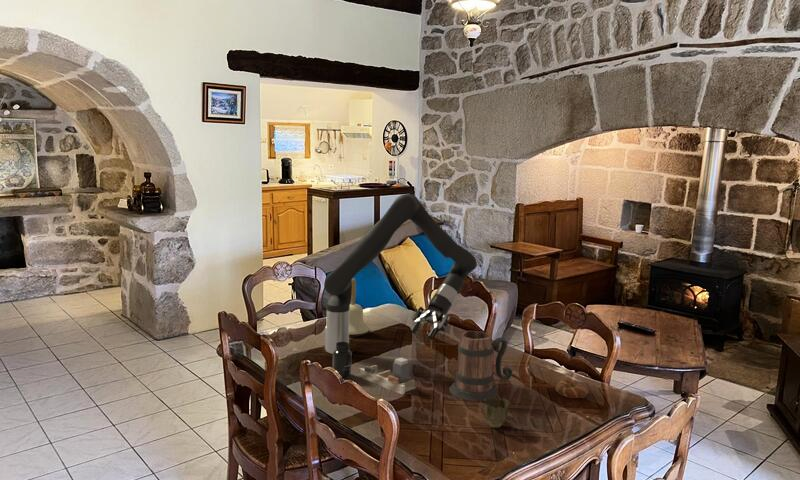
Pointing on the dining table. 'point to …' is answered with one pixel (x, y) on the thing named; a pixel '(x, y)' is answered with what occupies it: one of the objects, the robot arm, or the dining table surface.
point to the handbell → (356, 315)
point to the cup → (496, 411)
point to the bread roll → (571, 389)
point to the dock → (386, 379)
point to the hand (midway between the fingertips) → (420, 335)
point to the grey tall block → (401, 370)
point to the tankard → (478, 366)
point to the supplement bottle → (342, 359)
